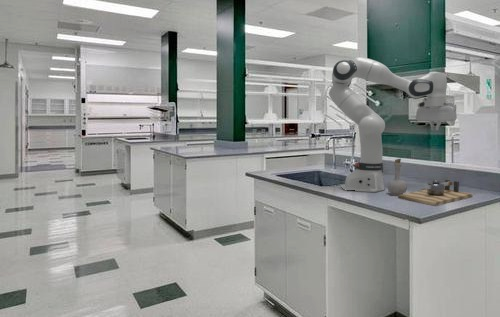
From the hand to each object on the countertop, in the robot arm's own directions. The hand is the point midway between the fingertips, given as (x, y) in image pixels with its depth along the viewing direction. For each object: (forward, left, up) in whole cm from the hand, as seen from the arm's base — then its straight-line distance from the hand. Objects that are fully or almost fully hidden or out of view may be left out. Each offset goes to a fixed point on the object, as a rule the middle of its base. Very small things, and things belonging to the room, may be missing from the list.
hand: (434, 130), depth 185 cm
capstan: (-4, -20, -29) cm, 36 cm away
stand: (-6, -21, -31) cm, 38 cm away
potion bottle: (-22, -15, -31) cm, 41 cm away
